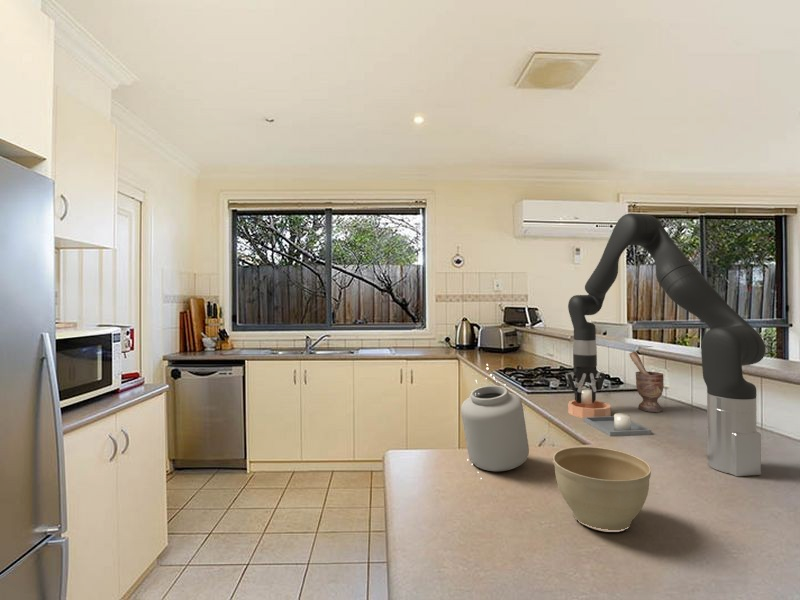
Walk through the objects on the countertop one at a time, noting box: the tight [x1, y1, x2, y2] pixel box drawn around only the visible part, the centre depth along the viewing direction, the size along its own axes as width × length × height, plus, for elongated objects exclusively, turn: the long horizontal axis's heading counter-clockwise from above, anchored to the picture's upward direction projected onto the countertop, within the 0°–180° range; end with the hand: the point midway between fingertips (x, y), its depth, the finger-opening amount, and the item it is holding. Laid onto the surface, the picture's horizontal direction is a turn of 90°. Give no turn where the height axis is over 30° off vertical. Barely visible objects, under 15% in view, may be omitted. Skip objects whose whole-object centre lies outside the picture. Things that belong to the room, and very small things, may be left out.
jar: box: [460, 363, 530, 480], centre depth 105 cm, size 19×15×25 cm
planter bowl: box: [552, 446, 652, 530], centre depth 79 cm, size 16×16×11 cm
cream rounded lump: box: [581, 387, 592, 404], centre depth 149 cm, size 4×4×5 cm
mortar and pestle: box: [628, 351, 664, 413], centre depth 155 cm, size 12×9×20 cm
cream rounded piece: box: [613, 412, 632, 431], centre depth 128 cm, size 4×4×5 cm
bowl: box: [567, 399, 612, 419], centre depth 147 cm, size 13×13×4 cm
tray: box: [583, 415, 652, 437], centre depth 131 cm, size 15×12×2 cm
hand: (585, 402), depth 149 cm, fingers closed on cream rounded lump, 4 cm apart
